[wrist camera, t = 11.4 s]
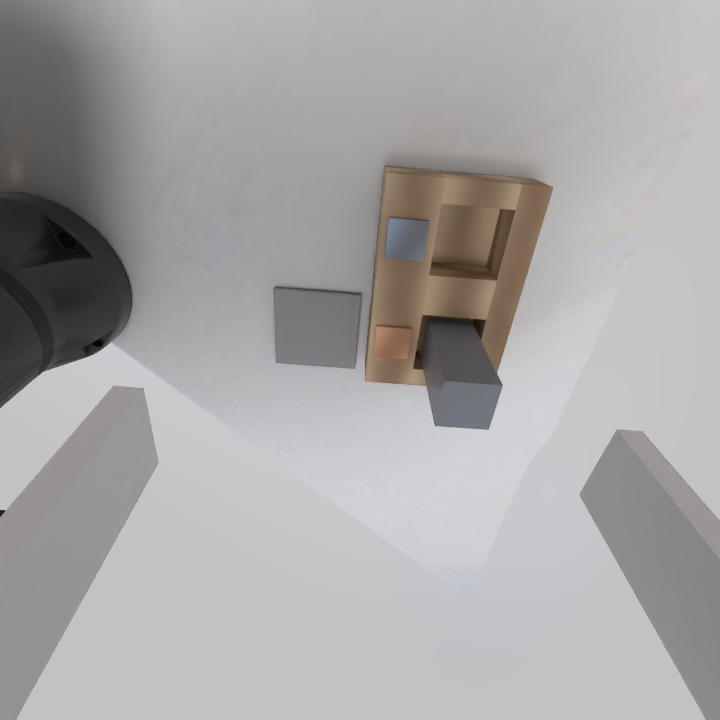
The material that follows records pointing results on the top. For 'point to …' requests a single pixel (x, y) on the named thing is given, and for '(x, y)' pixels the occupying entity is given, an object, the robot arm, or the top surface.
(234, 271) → the top surface
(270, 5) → the top surface
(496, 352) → the socket board
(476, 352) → the plug
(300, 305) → the mat
